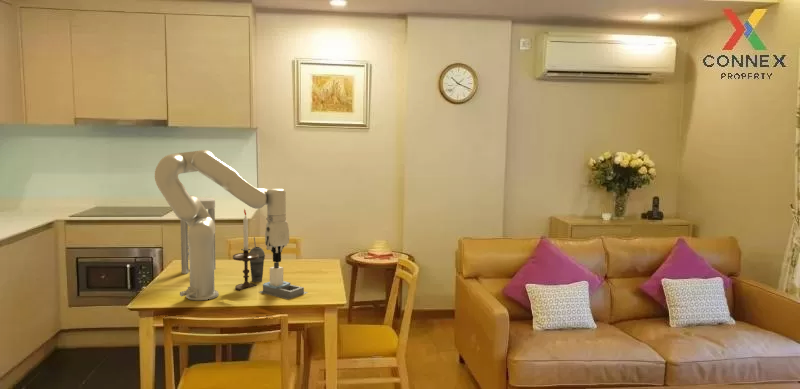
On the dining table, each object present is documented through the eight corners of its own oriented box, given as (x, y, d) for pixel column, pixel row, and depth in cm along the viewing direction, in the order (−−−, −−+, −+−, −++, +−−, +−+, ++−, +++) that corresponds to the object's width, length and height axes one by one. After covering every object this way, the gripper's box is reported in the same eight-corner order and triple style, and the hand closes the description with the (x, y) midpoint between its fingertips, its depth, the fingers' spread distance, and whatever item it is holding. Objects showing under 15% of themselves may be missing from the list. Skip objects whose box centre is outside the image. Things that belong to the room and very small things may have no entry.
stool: (175, 274, 268) (173, 200, 264) (192, 266, 283) (190, 196, 279) (206, 276, 265) (204, 201, 261) (221, 268, 281) (220, 197, 276)
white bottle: (276, 292, 239) (276, 264, 237) (269, 290, 241) (269, 263, 239) (283, 290, 242) (283, 262, 240) (276, 288, 244) (276, 261, 243)
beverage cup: (260, 283, 256) (260, 239, 254) (245, 282, 257) (245, 238, 255) (267, 279, 263) (267, 236, 261) (253, 278, 265) (252, 235, 262)
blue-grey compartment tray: (288, 302, 230) (288, 291, 229) (258, 294, 239) (258, 284, 238) (308, 295, 240) (308, 285, 239) (278, 288, 249) (278, 278, 248)
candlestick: (242, 293, 241) (241, 210, 237) (228, 287, 248) (227, 207, 244) (264, 288, 249) (263, 208, 245) (250, 283, 256) (249, 205, 252)
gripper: (270, 221, 229) (270, 266, 232) (295, 217, 242) (295, 259, 244) (256, 219, 233) (257, 263, 236) (282, 215, 246) (283, 257, 248)
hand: (276, 261), depth 240 cm, fingers closed
